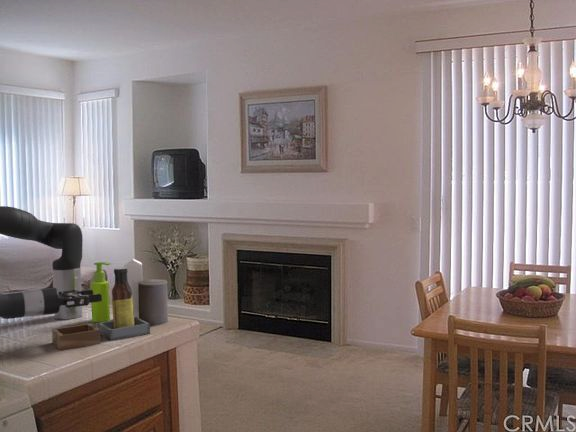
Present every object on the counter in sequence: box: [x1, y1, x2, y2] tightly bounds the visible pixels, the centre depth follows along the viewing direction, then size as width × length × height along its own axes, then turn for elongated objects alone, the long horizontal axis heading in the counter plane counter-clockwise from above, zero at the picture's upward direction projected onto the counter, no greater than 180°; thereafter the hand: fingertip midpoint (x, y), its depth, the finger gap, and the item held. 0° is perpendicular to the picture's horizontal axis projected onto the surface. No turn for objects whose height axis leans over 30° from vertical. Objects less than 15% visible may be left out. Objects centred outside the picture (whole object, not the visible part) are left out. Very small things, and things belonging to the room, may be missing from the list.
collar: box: [51, 322, 101, 351], centre depth 165 cm, size 10×11×4 cm
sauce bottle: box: [111, 266, 134, 329], centre depth 175 cm, size 7×6×20 cm
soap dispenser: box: [90, 261, 111, 323], centre depth 193 cm, size 6×7×20 cm
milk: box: [123, 253, 144, 318], centre depth 196 cm, size 6×6×22 cm
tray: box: [97, 317, 151, 341], centre depth 176 cm, size 11×12×3 cm
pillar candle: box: [138, 277, 169, 326], centre depth 189 cm, size 10×10×15 cm
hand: (97, 295), depth 170 cm, fingers open, 8 cm apart
